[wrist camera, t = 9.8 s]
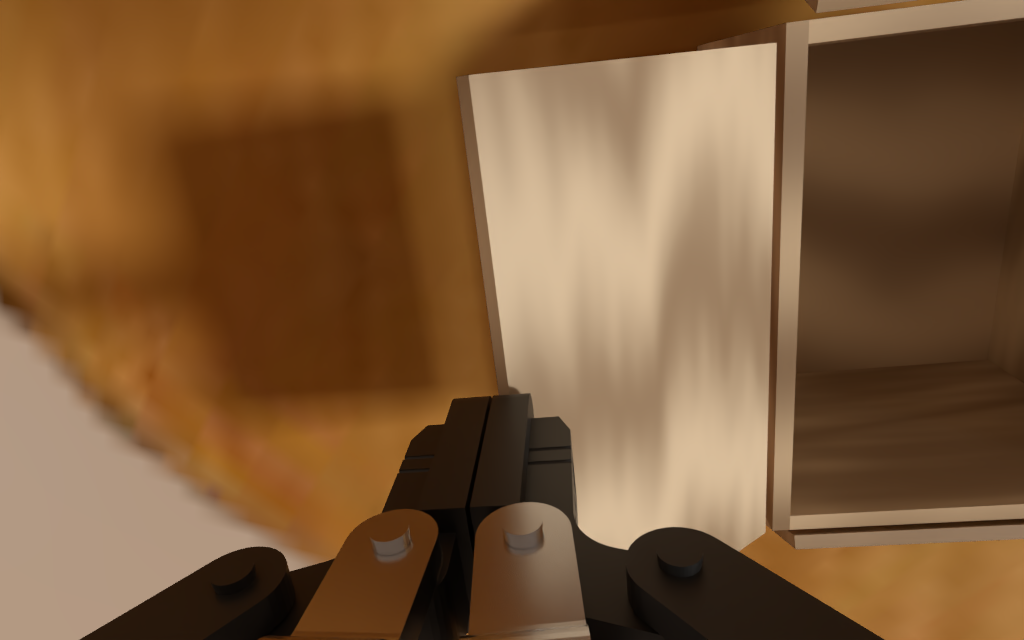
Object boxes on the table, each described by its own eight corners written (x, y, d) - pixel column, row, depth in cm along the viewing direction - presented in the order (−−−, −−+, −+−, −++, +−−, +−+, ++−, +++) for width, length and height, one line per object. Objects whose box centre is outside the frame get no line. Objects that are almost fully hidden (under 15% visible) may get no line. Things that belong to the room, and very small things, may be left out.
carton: (695, -46, 23) (795, -138, 13) (1183, -113, 21) (1696, -273, 12) (703, 443, 30) (773, 616, 20) (1074, 420, 28) (1343, 595, 19)
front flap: (761, 44, 15) (456, 77, 11) (776, 42, 14) (468, 75, 10) (753, 526, 19) (536, 675, 15) (765, 532, 19) (546, 687, 15)
